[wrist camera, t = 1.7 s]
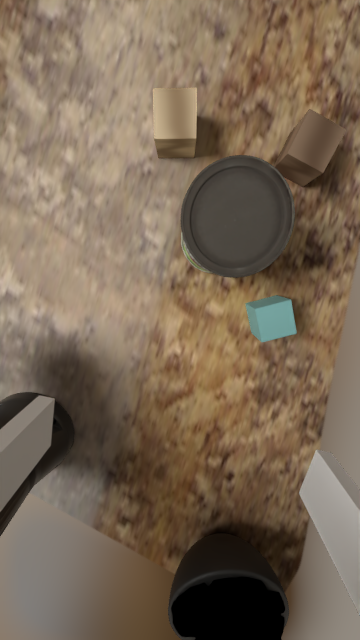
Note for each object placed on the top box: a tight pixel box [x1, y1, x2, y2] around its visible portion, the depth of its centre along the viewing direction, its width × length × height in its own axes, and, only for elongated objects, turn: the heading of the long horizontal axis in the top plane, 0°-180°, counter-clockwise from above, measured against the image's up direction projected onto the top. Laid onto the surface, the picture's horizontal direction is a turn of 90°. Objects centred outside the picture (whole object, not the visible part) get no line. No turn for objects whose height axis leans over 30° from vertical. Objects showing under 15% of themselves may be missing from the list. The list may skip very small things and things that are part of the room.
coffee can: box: [181, 155, 295, 278], centre depth 28 cm, size 10×10×14 cm
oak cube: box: [153, 88, 197, 158], centre depth 29 cm, size 5×5×5 cm
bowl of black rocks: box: [168, 533, 289, 640], centre depth 39 cm, size 20×20×19 cm
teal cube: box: [245, 295, 297, 342], centre depth 35 cm, size 5×5×5 cm
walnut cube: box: [274, 109, 346, 187], centre depth 30 cm, size 5×5×5 cm
